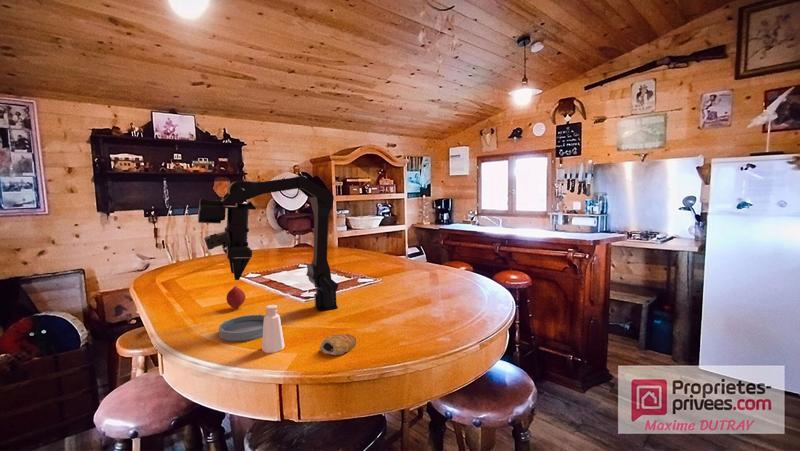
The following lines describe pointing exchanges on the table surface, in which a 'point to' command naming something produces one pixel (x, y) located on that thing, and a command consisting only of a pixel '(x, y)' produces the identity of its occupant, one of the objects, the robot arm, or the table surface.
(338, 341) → the pastry
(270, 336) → the pepper shaker
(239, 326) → the dish
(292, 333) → the table surface
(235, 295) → the onion
